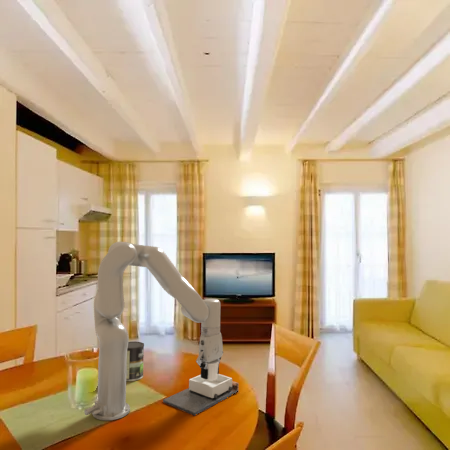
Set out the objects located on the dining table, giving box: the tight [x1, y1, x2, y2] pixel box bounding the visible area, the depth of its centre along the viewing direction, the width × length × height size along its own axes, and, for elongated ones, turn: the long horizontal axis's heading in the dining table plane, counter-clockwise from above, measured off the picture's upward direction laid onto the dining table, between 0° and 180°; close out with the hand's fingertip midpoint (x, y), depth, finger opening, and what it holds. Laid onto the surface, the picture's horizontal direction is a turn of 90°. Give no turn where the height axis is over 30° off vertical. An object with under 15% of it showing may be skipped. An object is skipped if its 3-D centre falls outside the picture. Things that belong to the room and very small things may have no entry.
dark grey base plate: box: [162, 380, 240, 416], centre depth 146 cm, size 26×16×4 cm, turn 142°
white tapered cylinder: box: [203, 359, 220, 381], centre depth 150 cm, size 7×7×7 cm
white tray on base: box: [188, 373, 233, 398], centre depth 150 cm, size 12×14×4 cm
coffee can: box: [126, 341, 145, 382], centre depth 165 cm, size 10×10×14 cm
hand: (209, 375), depth 150 cm, fingers closed on white tapered cylinder, 6 cm apart
